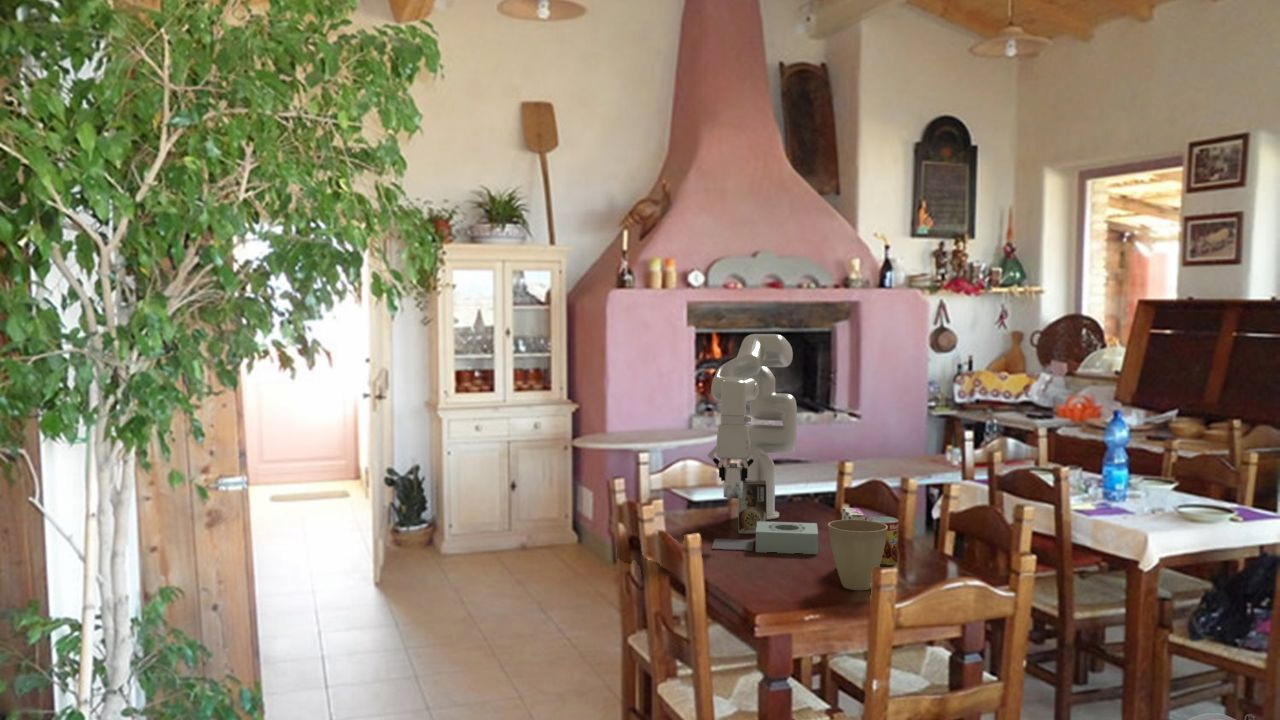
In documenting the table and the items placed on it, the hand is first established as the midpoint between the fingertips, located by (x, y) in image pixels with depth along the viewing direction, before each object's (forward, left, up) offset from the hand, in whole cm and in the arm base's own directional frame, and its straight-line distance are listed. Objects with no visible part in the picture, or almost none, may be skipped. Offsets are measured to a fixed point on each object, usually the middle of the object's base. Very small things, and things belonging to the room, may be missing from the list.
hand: (733, 479), depth 286 cm
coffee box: (-19, +5, -20) cm, 28 cm away
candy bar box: (+23, +34, -20) cm, 46 cm away
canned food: (+12, +43, -20) cm, 49 cm away
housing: (0, +16, -20) cm, 26 cm away
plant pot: (+38, +34, -20) cm, 55 cm away
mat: (0, 0, -20) cm, 20 cm away
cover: (0, 0, -5) cm, 5 cm away
